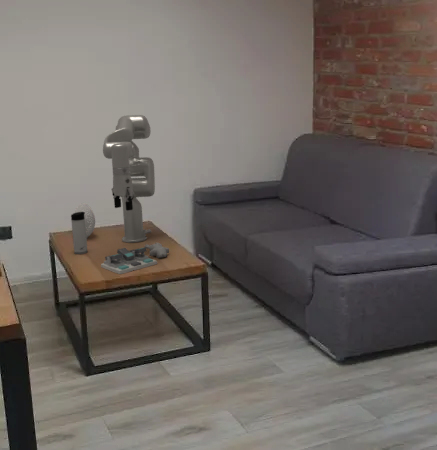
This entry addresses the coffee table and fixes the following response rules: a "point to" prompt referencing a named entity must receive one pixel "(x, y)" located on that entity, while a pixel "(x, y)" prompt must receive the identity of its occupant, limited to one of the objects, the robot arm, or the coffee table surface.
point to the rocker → (114, 256)
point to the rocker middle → (126, 254)
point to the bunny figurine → (157, 250)
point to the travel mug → (79, 233)
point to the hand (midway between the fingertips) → (123, 208)
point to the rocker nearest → (139, 250)
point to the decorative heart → (87, 217)
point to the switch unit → (128, 263)
